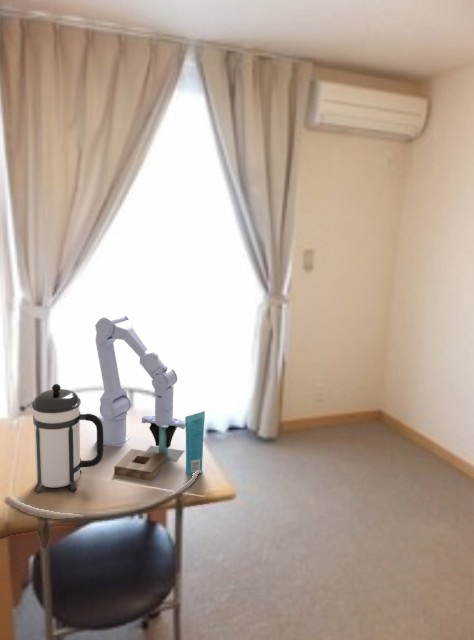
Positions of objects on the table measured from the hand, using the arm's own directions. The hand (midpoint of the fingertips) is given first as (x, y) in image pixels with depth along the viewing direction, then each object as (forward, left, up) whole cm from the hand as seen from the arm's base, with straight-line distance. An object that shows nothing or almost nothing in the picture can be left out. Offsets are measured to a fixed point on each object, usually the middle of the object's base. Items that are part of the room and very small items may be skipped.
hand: (163, 445), depth 166 cm
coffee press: (-21, -25, -3) cm, 33 cm away
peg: (0, 0, -3) cm, 3 cm away
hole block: (-3, -11, -3) cm, 12 cm away
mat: (0, 0, -3) cm, 3 cm away
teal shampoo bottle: (+13, -8, -3) cm, 16 cm away
